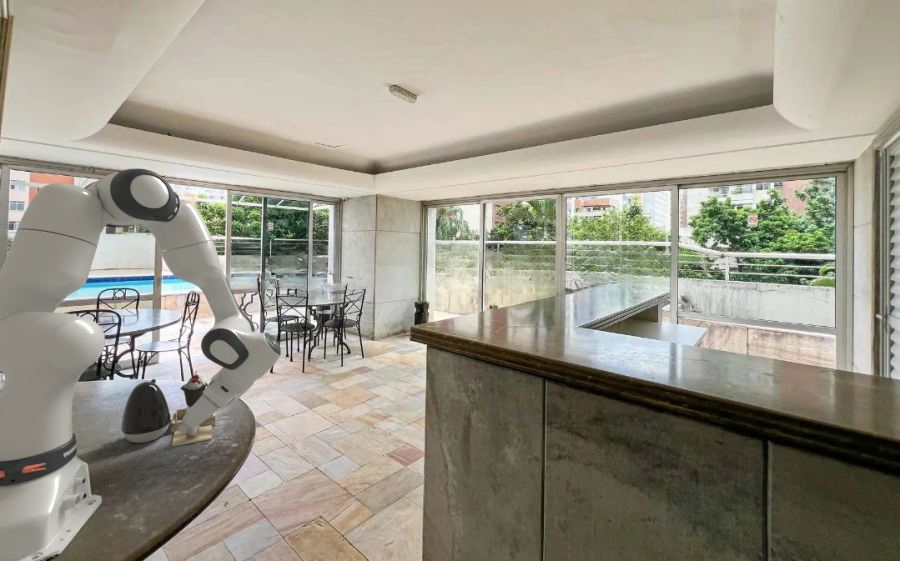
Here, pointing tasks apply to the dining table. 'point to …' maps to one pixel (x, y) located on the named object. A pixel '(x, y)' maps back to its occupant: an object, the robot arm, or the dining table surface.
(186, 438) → the wooden frame tray
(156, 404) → the pump dispenser
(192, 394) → the sundae
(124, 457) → the dining table surface
